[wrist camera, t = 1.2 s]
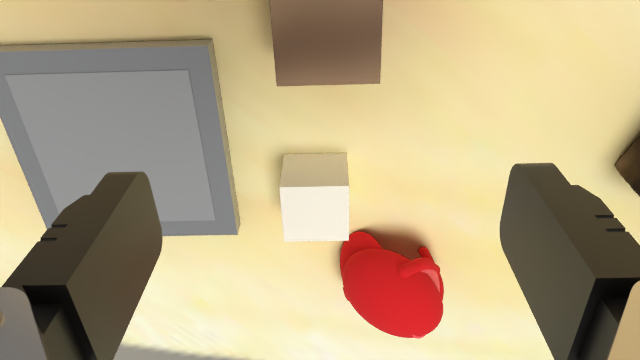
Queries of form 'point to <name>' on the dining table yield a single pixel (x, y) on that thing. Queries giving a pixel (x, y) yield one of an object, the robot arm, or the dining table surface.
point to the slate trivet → (122, 126)
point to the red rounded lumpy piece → (392, 287)
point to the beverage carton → (631, 166)
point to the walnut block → (327, 41)
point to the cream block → (315, 197)
